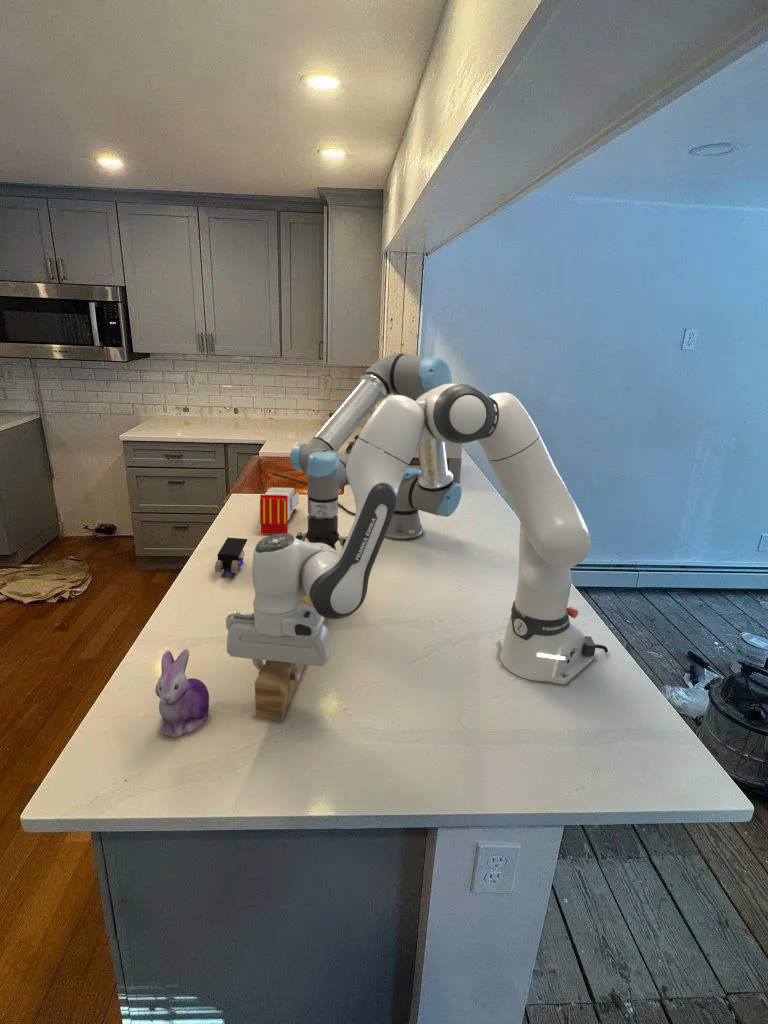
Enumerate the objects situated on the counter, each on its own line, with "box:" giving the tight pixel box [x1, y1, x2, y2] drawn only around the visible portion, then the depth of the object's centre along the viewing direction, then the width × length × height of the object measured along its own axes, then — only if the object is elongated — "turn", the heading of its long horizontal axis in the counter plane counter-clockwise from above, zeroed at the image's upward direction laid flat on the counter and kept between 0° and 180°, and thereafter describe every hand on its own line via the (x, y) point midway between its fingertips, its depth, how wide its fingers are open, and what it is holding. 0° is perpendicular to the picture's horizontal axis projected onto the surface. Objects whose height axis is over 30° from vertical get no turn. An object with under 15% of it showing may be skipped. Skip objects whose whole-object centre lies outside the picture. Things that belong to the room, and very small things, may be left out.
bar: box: [254, 596, 327, 722], centre depth 131 cm, size 53×5×8 cm, turn 173°
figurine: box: [154, 648, 210, 738], centre depth 104 cm, size 9×10×15 cm
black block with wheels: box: [214, 537, 248, 578], centre depth 166 cm, size 7×8×15 cm
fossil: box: [345, 434, 367, 454], centre depth 306 cm, size 22×10×15 cm
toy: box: [259, 487, 300, 535], centre depth 206 cm, size 12×13×30 cm
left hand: (322, 595), depth 149 cm, fingers open, 7 cm apart
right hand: (279, 677), depth 113 cm, fingers closed on bar, 5 cm apart
